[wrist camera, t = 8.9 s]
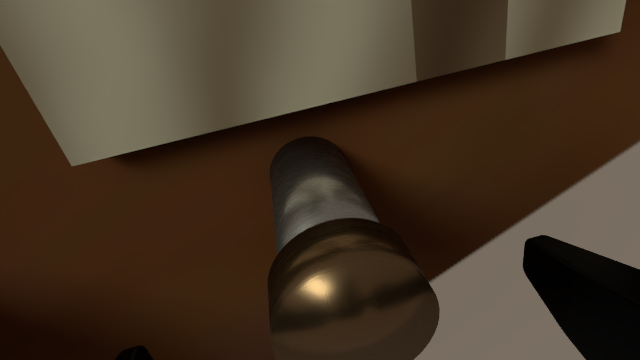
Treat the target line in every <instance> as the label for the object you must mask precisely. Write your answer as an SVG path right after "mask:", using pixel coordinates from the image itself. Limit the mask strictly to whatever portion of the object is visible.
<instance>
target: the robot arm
mask: <svg viewBox="0 0 640 360" xmlns="http://www.w3.org/2000/svg"><path fill="white" fill-rule="evenodd" d="M523 269H524V272H525V274H526V276H527V277H528V279H529V281H530V282H531V283H532V285H533V287H534V288H535V290H536V291H537V293H538V294H539V296H540V297H541V299H542V300H543V302H544V303H545V305H546V306H547V308H548V309H549V311H550V312H551V314H552V315H553V317H554V318H555V320H556V321H557V323H558V324H559V326H560V327H561V329H562V330H563V331H564V333H565V334H566V335H567V337H568V338H569V339H570V341H571V342H572V343H573V344H574V345H575V347H576V348H577V349H578V350H579V352H580V353H581V354H582V355H583V357H584V358H585V359H586V360H640V269H637V268H634V267H631V266H629V265H626V264H623V263H620V262H618V261H614V260H612V259H609V258H607V257H604V256H601V255H598V254H596V253H593V252H590V251H588V250H585V249H582V248H579V247H577V246H574V245H571V244H568V243H565V242H563V241H560V240H557V239H555V238H552V237H549V236H546V235H540V236H537V237H533V238H529V239H527V241H526V242H525V247H524V258H523ZM115 360H153V358H152V357H151V355H150V354H149V352H148V351H147V349H146V348H145V347H144V346H136V347H132V348H128V349H125V350H123V351H122V352H121V353H120V354H119V355H118V356H117V357H116V359H115Z"/></svg>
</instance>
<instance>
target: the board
mask: <svg viewBox="0 0 640 360" xmlns="http://www.w3.org/2000/svg"><path fill="white" fill-rule="evenodd" d="M625 3H626V0H0V45H1V47H2V49H3V50H4V52H5V54H6V56H7V57H8V59H9V61H10V62H11V64H12V66H13V67H14V69H15V71H16V72H17V74H18V76H19V78H20V79H21V81H22V83H23V84H24V86H25V88H26V89H27V91H28V93H29V94H30V96H31V98H32V100H33V101H34V103H35V105H36V106H37V108H38V110H39V111H40V113H41V115H42V116H43V118H44V120H45V122H46V123H47V125H48V127H49V128H50V130H51V132H52V133H53V135H54V137H55V138H56V140H57V142H58V144H59V145H60V147H61V149H62V150H63V152H64V154H65V155H66V157H67V159H68V160H69V162H70V164H71V165H72V166H75V165H79V164H83V163H87V162H92V161H96V160H100V159H104V158H108V157H112V156H116V155H120V154H124V153H128V152H132V151H136V150H140V149H144V148H149V147H153V146H157V145H161V144H165V143H169V142H173V141H177V140H181V139H185V138H189V137H193V136H197V135H201V134H206V133H210V132H214V131H218V130H222V129H226V128H230V127H234V126H238V125H242V124H246V123H250V122H254V121H258V120H263V119H267V118H271V117H275V116H279V115H283V114H287V113H291V112H295V111H299V110H303V109H307V108H311V107H316V106H320V105H324V104H328V103H332V102H336V101H340V100H344V99H348V98H352V97H356V96H360V95H364V94H368V93H373V92H377V91H381V90H385V89H389V88H393V87H397V86H401V85H405V84H409V83H413V82H417V81H421V80H425V79H430V78H434V77H438V76H442V75H446V74H450V73H454V72H458V71H462V70H466V69H470V68H474V67H478V66H482V65H487V64H491V63H495V62H499V61H503V60H507V59H511V58H515V57H519V56H523V55H527V54H531V53H535V52H540V51H544V50H548V49H552V48H556V47H560V46H564V45H568V44H572V43H576V42H580V41H584V40H588V39H592V38H597V37H601V36H605V35H609V34H613V33H617V32H620V30H621V25H622V19H623V14H624V8H625Z"/></svg>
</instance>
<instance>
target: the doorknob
mask: <svg viewBox="0 0 640 360" xmlns="http://www.w3.org/2000/svg"><path fill="white" fill-rule="evenodd" d="M270 183H271V193H272V204H273V214H274V225H275V235H276V246H277V256H276V258H275V260H274V261H273V264H272V266H271V268H270V272H269V276H268V300H269V318H270V337H271V348H272V352H273V355H274V357H275V359H276V360H414V359H415V357H417V356H418V355H419V354H420V353H421V352H422V351H423V349H424V348H425V347H426V346H427V344H428V343H429V341H430V340H431V338H432V336H433V335H434V333H435V330H436V328H437V325H438V320H439V304H438V300H437V297H436V294H435V293H434V291H433V289H432V288H431V286H430V284H429V283H428V281H427V279H426V278H425V276H424V274H423V273H422V271H421V269H420V268H419V266H418V264H417V262H416V261H415V259H414V257H413V256H412V254H411V252H410V251H409V249H408V247H407V246H406V244H405V242H404V241H403V240H402V238H401V237H400V236H399V235H398V234H397V233H396V232H395V231H393V230H392V229H391V228H389V227H387V226H386V225H383V224H381V223H380V222H379V220H378V218H377V217H376V215H375V213H374V211H373V209H372V207H371V206H370V204H369V202H368V200H367V198H366V196H365V195H364V193H363V191H362V189H361V187H360V185H359V184H358V182H357V180H356V178H355V176H354V174H353V173H352V171H351V169H350V167H349V165H348V163H347V162H346V160H345V158H344V156H343V154H342V153H341V151H340V150H339V149H338V147H337V146H335V145H334V144H333V143H331V142H330V141H328V140H326V139H323V138H319V137H311V136H310V137H301V138H298V139H295V140H293V141H290V142H289V143H287V144H286V145H284V146H283V147H282V148H281V149H280V150H279V151H278V152H277V153H276V155H275V157H274V158H273V160H272V163H271V167H270Z"/></svg>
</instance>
